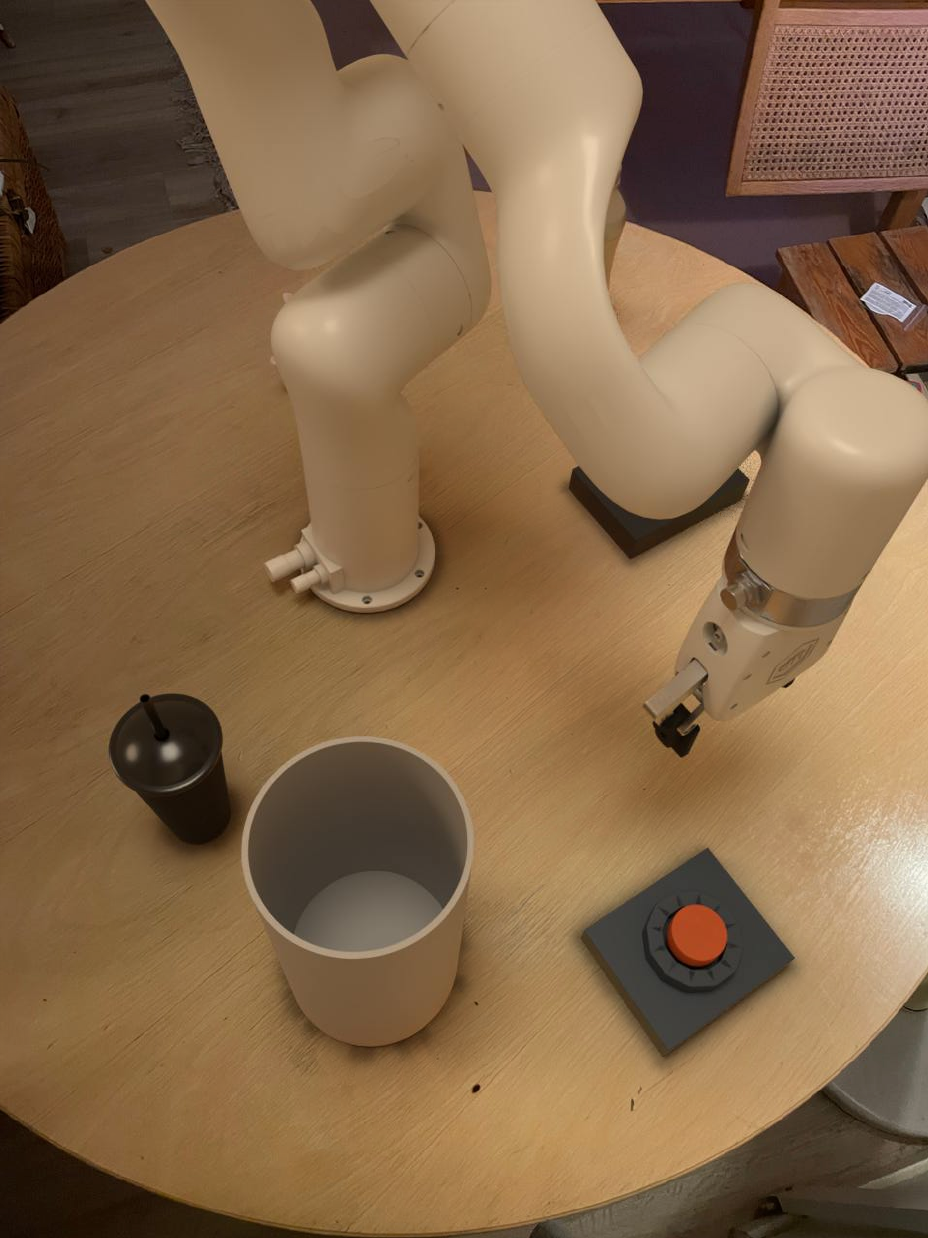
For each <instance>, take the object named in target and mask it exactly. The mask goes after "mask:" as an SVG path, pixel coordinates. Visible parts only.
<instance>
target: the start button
mask: <svg viewBox="0 0 928 1238" xmlns="http://www.w3.org/2000/svg"><path fill="white" fill-rule="evenodd" d="M667 942H668V946H669V948H670V950H671V952H672V953H673V954H674V956H675V957H676V958H677V959H678V960H680V961H681V962H683V963H684V964H687V965H689V966H694V967H701V966H706V965H708V964H710V963H712V962H713V961H714V960H715V959H716V958H717V957H718V956H719V955H720V954H721V953H722V951H723V950H724V948H725V946H726V943H727V930H726V927H725V924H724V922H723V920H722V919H721V917H720V916H719V915H718V914H717V913H716V912H715V911H713V910H712V909H710V908H708V907H706V906H702V905H689V906H686V907H684V908H682V909H681V910H679V911H678V912H677V913H676V915H675V916H674V918H673V919H672V920H671V922H670V923H669V926H668V929H667Z"/></svg>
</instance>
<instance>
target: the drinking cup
mask: <svg viewBox="0 0 928 1238" xmlns="http://www.w3.org/2000/svg"><path fill="white" fill-rule="evenodd" d="M223 744H224V734H223V728H222V726H221V722H220V720H219V718H218V716H217V714H216V713H215V712H214V711H213V709H212V708H211V707H210V706H209V705H208V704H207V703H205V702H203V701H202V700H200V699H199V698H196V697H194V696H190V695H188V694H184V693H177V692H176V693H174V692H172V693H161V694H157V695H153V696H150V695H149V694H147V693H144V694H141V695H140V696H139V702H137V703H136V704H135V705H133V706H132V707H130V708H129V709H128V710H126V712H125V713H124V714H123V715H122V716H121V718H119V720H118V721H117V723H116V724H115V726H114V728H113V731H112V732H111V735H110V739H109V743H108V759H109V763H110V767H111V768H112V771H113V773H114V774H115V776H116V778H117V779H118V780H119V782H121V783H122V785H124V786H125V787H127V788H129V789H130V790H132V791H133V792H135V793H136V794H137V795H138V796H139V797H140V799H141V800H142V801H143V802H144V803H145V804H146V805H147V806H148V807H149V808H150V809H151V810H152V812H153V813H154V814H155V815H156V816H157V817H158V818H159V819H160V820H161V822H162V823H163V824H164V825H165V826H166V827H167V829H169V830H170V832H171V833H172V834H173V835H174V836H175V837H176V838H177V839H178V840H180V841H181V842H183V843H185V844H189V845H204V844H208V843H210V842H212V841H214V840H216V839H217V838H218V837H220V836H222V834H223V833H224V832H225V830H226V829H227V827H228V825H229V823H230V820H231V815H232V810H231V804H230V797H229V789H228V784H227V778H226V777H227V776H226V772H225V765H224V758H223Z"/></svg>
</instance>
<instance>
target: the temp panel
mask: <svg viewBox="0 0 928 1238" xmlns="http://www.w3.org/2000/svg"><path fill="white" fill-rule="evenodd" d="M750 481H751V479H750V478H749V477H748V476H747V475H746V474H745V473H744V472H743V471H742V470H741V469H740V467H738V469H737V470H736V471H735V472H734V473H733V474H732V475H731V476H730V477H729V478H728V479H727V480H726V482H725V483H724V484H723V485H722V486H721V487H720V488H719V489H718V490H717V491H716V492H715V493H714V494H713V495H712V496H711V497H709V498H708V499H707V500H706V501H705V502H704V503H703V504H701V505H700V506H699V507H697V508H696V509H694V510H693V511H690V512H688V513H686V514H684V515H681V516H679V517H675V518H670V519H651V518H645V517H641V516H639V515H636V514H634V513H631V512H629V511H627V510H625V509H624V508H622V507H621V506H619V505H618V504H616V503H614V502H613V501H612V500H611V499H610V498H608V497H607V496H606V495H605V494H604V493H603V492H602V491H600V490H599V489H598V488H597V486H596V485H595V484H594V483H593V482H592V481H591V480H590V479H589V478H588V476H587V475H586V474H585V473H584V472H583V470H582V469H581V468H580V467H579V465H577V466H575V467H573V468H572V470H571V474H570V480H569V485H568V490H569V491H570V492H571V493H572V494H573V496H575V498H576V499H577V500H578V501H579V502H580V503H581V505H582V506H583V507H584V508H585V509H586V511H587V512H588V513H589V514H590V515H591V516H592V517H593V518H594V519H595V521H596V522H597V523H598V524H599V525H600V526H601V527H602V528H603V530H604V531H605V532H606V533H607V535H609V537H610V538H611V539H613V541H614V542H615V543H616V545H618V547H619V549H621V550H622V552H624V554H625V555H626V556H627V557H628V558H629V559H630V560H631V559H633V558H635V557H637V556H639V555H641V554H643V553H644V552H646V551H648V550H650V549H652V548H654V547H656V546H658V545H659V544H661V543H664V542H665V541H667V540H669V539H671V538H672V537H674V536H676V535H678V534H680V533H682V532H683V531H685V530H687V529H690V528H691V527H693V526H694V525H697V524H698V523H700V522H702V521H704V520H706V519H708V518H710V517H712V516H713V515H715V514H718V513H719V512H720V511H722V510H725V509H726V508H728V507H730V506H733V505H734V504H736V503H738V502H740V501H741V500H742V499H743V498H744V495H745V493H746V490H747V488H748V486H749V483H750Z"/></svg>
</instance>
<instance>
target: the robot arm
mask: <svg viewBox="0 0 928 1238" xmlns="http://www.w3.org/2000/svg"><path fill="white" fill-rule="evenodd" d="M144 1H145V2H146V4H147V6H148V7H149V9H150V10H151V12H152V13H153V15H154V17H155V18H156V19H157V21H158V22H159V24H160V25H161V27H162V29H163V30H164V33H165V34H166V35H167V37H168V39H169V40H170V43H171V45H172V46H173V48H174V50H175V52H176V53H177V55H178V57H179V60H180V62H181V64H182V67H183V69H184V70H185V73H186V75H187V77H188V79H189V82H190V86H191V88H192V91H193V93H194V96H195V99H196V102H197V105H198V107H199V109H200V113H201V115H202V117H203V120H204V122H205V125H206V127H207V130H208V132H209V136H210V138H211V140H212V143H213V146H214V148H215V150H216V153H217V156H218V158H219V161H220V163H221V165H222V169H223V171H224V173H225V176H226V178H227V181H228V184H229V186H230V189H231V192H232V194H233V197H234V199H235V202H236V204H237V206H238V209H239V211H240V213H241V216H242V219H243V221H244V223H245V225H246V227H247V229H248V231H249V233H250V235H251V237H252V239H253V241H254V242H255V244H256V246H258V248H259V250H260V251H261V252H262V254H263V255H264V256H265V257H267V258H268V260H269V261H271V262H272V263H273V264H275V265H276V266H278V267H281V268H283V269H286V270H288V271H308V270H310V269H315V268H318V267H322V266H324V265H326V264H328V263H330V262H332V261H333V260H336V259H337V258H339V257H342V255H344V254H346V253H347V252H349V251H350V250H352V249H353V248H356V246H358V245H360V244H361V243H362V242H364V241H366V240H367V239H368V238H370V237H371V236H373V235H374V234H376V233H377V232H379V231H380V230H381V231H380V232H379V233H378V234H377V235H375V236H374V237H372V238H371V239H370V240H368V241H366V242H365V243H364V244H362V245H360V246H359V247H358V248H356V249H355V250H354V251H352V252H349V253H348V254H346V255H345V256H343V257H342V258H340V259H339V260H337V261H336V262H334V263H333V264H332V265H330V266H329V267H328V268H326V269H325V270H323V271H322V272H320V273H319V274H318V275H316V276H314V277H313V278H312V279H311V280H309V281H308V282H307V283H305V284H304V285H303V286H301V287H300V288H299V289H298V290H297V291H295V293H293V294H294V295H293V296H292V297H291V298H290V299H289V300H288V301H287V302H286V303H285V302H284V305H283V306H282V307H281V308H280V310H279V311H278V312H277V314H276V316H275V318H274V320H273V323H272V326H271V329H270V349H271V353H272V355H273V357H274V360H275V362H276V365H275V366H276V368H277V371H278V372H279V375H280V378H281V380H282V383H283V385H284V387H285V390H286V392H287V395H288V398H289V400H290V404H291V407H292V410H293V415H294V419H295V424H296V431H297V436H298V442H299V448H300V450H299V451H300V454H301V462H302V469H303V476H304V482H305V489H306V491H305V492H306V495H307V496H306V497H307V503H308V511H309V519H310V522H309V524H308V525H307V526H306V527H304V528H302V529H301V538H300V540H299V543H297V544H294V545H293V550H291V551H288V552H286V553H284V554H279V555H278V556H275V557H274V558H271V559H269V560H267V561H265V562H263V567H264V570H265V572H266V575H267V576H268V578H269V580H270V581H271V582H272V583H275V582H278V581H280V580H282V579H284V578H286V577H288V576H290V575H292V574H293V573H294V572H296V571H298V570H300V572H301V574H300V575H298V576H296V577H294V578H291V579H290V580H289V582H290V585H291V588H292V589H293V591H294V592H295V594H297V595H298V594H300V593H303V592H304V591H306V590H309V589H310V590H311V591H312V592H313V593H314V594H315V595H316V596H317V597H318V598H319V599H320V600H321V601H323V602H325V603H327V604H329V605H330V606H332V607H335V608H338V609H340V610H343V611H348V612H353V613H359V614H360V613H361V614H362V613H366V614H368V613H369V614H371V613H378V612H384V611H385V612H386V611H388V610H391V609H395V608H397V607H399V606H401V605H403V604H406V603H407V602H409V601H410V600H412V599H413V598H414V597H416V596H417V595H418V594H419V593H420V592H421V591H422V590H423V589H424V587H426V585H427V583H428V582H429V580H430V579H431V576H432V574H433V571H434V568H435V563H436V543H435V540H434V537H433V534H432V531H431V530H430V528H429V526H428V524H427V523H426V522H425V520H423V518H422V517H421V516H420V515H419V514H420V513H419V512H420V511H419V509H420V508H419V504H420V503H419V494H420V493H419V492H420V491H419V490H420V489H419V488H420V487H419V486H420V485H419V484H420V483H419V482H420V481H419V480H420V479H419V477H420V475H419V474H420V471H419V470H420V468H419V467H420V431H419V430H420V429H419V422H418V417H417V414H416V412H415V410H414V407H413V406H412V404H411V403H410V401H409V400H408V399H407V398H406V397H405V395H403V394H402V391H403V390H404V389H405V387H406V386H407V385H408V384H409V383H410V382H411V381H412V380H413V379H414V378H415V377H416V376H418V375H419V374H420V373H421V372H423V371H424V370H425V369H426V368H428V367H429V365H430V364H432V363H433V362H434V361H435V360H436V359H438V358H439V357H441V355H443V354H445V353H446V352H447V351H448V350H449V349H450V348H451V347H453V346H454V345H455V344H456V343H458V342H459V341H460V340H461V339H462V338H464V337H465V336H466V335H467V334H469V333H470V332H471V331H472V330H473V329H474V328H475V327H476V326H477V325H478V324H479V323H480V322H481V320H482V319H483V318H484V317H485V314H486V312H487V311H488V308H489V305H490V302H491V298H492V297H491V296H492V274H491V267H490V266H491V265H490V261H489V256H488V251H487V246H486V242H485V238H484V233H483V229H482V225H481V220H480V215H479V210H478V207H477V203H476V197H475V193H474V189H473V188H474V187H473V183H472V179H471V175H470V171H469V166H468V161H467V157H466V152H467V154H469V156H470V157H471V159H472V161H473V162H474V163H475V165H476V166H477V168H478V170H479V172H480V173H481V174H482V176H483V178H484V179H485V181H486V183H487V185H488V187H489V188H490V191H491V193H492V196H493V199H494V203H495V209H496V271H497V282H498V283H497V284H498V288H499V296H500V303H501V308H502V309H501V310H502V314H503V319H504V326H505V330H506V335H507V340H508V344H509V347H510V351H511V353H512V358H513V360H514V364H515V366H516V369H517V371H518V374H519V376H520V379H521V381H522V383H523V385H524V386H525V388H526V390H527V391H528V394H529V396H530V398H531V399H532V400H533V402H534V403H535V405H536V407H537V408H538V410H539V411H540V412H541V414H542V415H543V417H544V418H545V420H546V422H547V423H548V424H549V426H550V427H551V429H552V430H553V432H554V433H555V434H556V436H557V438H558V439H559V440H560V441H561V443H562V444H563V447H565V448H566V450H567V452H568V454H570V456H571V457H572V459H573V460H574V462H575V463H576V465H577V466H579V467H580V468H581V469H582V470H583V472H584V473H585V474H586V475H587V476H588V478H589V479H590V480H591V481H592V482H593V483H594V484H595V485H596V486H597V488H598V489H599V490H600V491H602V492H603V493H604V494H605V495H606V496H607V497H608V498H610V499H611V500H612V501H613V502H614V503H616V504H618V505H619V506H621V507H622V508H624V509H625V510H627V511H629V512H631V513H634V514H636V515H639V516H641V517H645V518H651V519H670V518H675V517H679V516H681V515H684V514H686V513H688V512H690V511H693V510H694V509H696V508H697V507H699V506H700V505H701V504H703V503H704V502H705V501H706V500H707V499H708V498H709V497H711V496H712V495H713V494H714V493H715V492H716V491H717V490H718V489H719V488H720V487H721V486H722V485H723V484H724V483H725V482H726V480H727V479H728V478H729V477H730V476H731V475H732V474H733V473H734V472H735V471H736V470H737V469H738V468H740V466H741V465H742V464H743V463H744V462H745V461H746V460H747V459H748V458H749V457H750V456H751V455H752V454H753V453H754V452H756V453H757V454H758V455H759V458H760V466H759V469H758V471H757V473H756V476H755V478H754V481H753V483H752V486H751V488H750V491H749V493H748V495H747V498H746V500H745V503H744V505H743V508H742V510H741V512H740V515H739V517H738V520H737V523H736V525H735V528H734V530H733V533H732V536H731V537H730V540H729V543H728V545H727V547H726V550H725V553H724V554H723V557H722V563H721V575H722V576H721V577H720V578H719V579H718V580H717V582H716V583H715V585H714V586H713V588H712V589H711V591H710V592H709V594H708V595H707V597H706V598H705V600H704V602H703V604H702V606H701V607H700V609H699V610H698V613H697V614H696V616H695V617H694V619H693V621H692V623H691V625H690V627H689V629H688V631H687V633H686V635H685V637H684V639H683V641H682V644H681V647H680V648H679V651H678V654H677V657H676V660H675V664H674V676H673V677H672V678H671V679H670V680H669V681H668V682H666V683H665V684H664V685H663V686H662V687H661V688H660V689H658V690H657V691H656V692H655V693H654V694H653V695H651V696H650V697H649V698H648V699H647V700H646V701H645V702H644V703H643V704H642V705H641V707H642V709H643V710H644V712H646V713H647V714H648V716H649V717H650V718H651V719H652V726H653V728H654V733H655V737H656V738H657V739H658V741H659V742H660V743H661V744H662V745H663V746H664V747H666V748H667V749H670V748H671V749H672V750H673V751H674V753H675V754H676V755H677V756H678V757H679V758H681V759H682V758H685V757H686V756H687V755H689V754H690V752H691V749H692V748H693V746H694V743H695V741H696V739H697V738H698V734H699V733H700V731H701V727H700V725H699V723H701V722H702V720H704V718H705V717H707V715H708V716H709V717H710V718H711V719H712V720H714V722H720V723H723V722H724V723H725V722H729V721H732V720H733V719H735V718H737V717H739V716H740V715H742V714H743V713H745V712H747V711H748V710H749V709H751V708H753V707H754V706H756V705H757V704H759V703H761V702H762V701H763V700H765V699H767V698H768V697H769V696H771V695H773V694H774V693H775V692H777V691H778V690H780V689H781V688H782V689H783V688H784V689H787V688H788V687H791V686H792V684H793V683H794V682H795V680H796V678H797V677H799V676H800V675H802V674H804V672H806V671H807V670H809V669H810V668H811V667H813V666H814V665H815V664H816V663H818V662H819V661H820V660H821V659H822V658H823V657H824V656H825V655H826V653H827V652H828V650H829V648H830V647H831V646H832V643H833V641H834V640H835V638H836V636H837V634H838V633H839V630H840V628H841V627H842V625H843V622H844V621H845V619H846V617H847V614H848V613H849V610H850V608H851V606H852V604H853V602H854V599H855V597H856V595H857V594H858V592H859V591H860V589H861V588H862V586H863V584H864V582H865V581H866V579H867V577H868V576H869V574H870V573H871V571H872V570H873V568H874V566H875V564H876V563H877V561H878V560H879V558H880V557H881V555H882V553H883V552H884V550H885V549H886V547H887V545H888V544H889V543H890V541H891V539H892V537H893V536H894V534H895V533H896V532H897V529H898V528H899V527H900V525H901V523H902V521H903V519H904V518H905V517H906V515H907V513H908V512H909V510H910V508H911V507H912V505H913V503H914V502H915V500H916V499H917V497H918V496H919V494H920V492H921V491H922V489H923V487H924V486H925V484H926V483H927V481H928V398H927V397H926V396H925V395H924V394H923V393H922V392H921V391H919V389H917V388H916V387H915V386H914V385H912V384H911V383H909V382H907V381H905V380H904V379H902V378H900V377H898V376H896V375H894V374H893V373H889V372H886V371H883V370H881V369H876V368H873V367H868V366H865V365H864V364H863V363H862V362H861V361H859V360H858V359H857V358H856V357H855V356H854V355H852V354H851V353H849V351H847V350H846V349H845V348H844V347H842V346H841V345H840V344H839V343H838V342H837V341H836V340H835V339H834V338H832V336H830V334H829V333H827V332H826V331H825V330H824V329H823V328H821V326H820V325H818V323H816V322H815V321H814V320H813V319H811V317H809V316H808V315H807V314H806V313H805V312H804V311H803V310H801V308H799V307H798V306H797V305H795V304H794V303H793V302H792V301H790V300H789V299H788V298H786V297H785V296H784V295H781V294H780V293H778V292H777V291H775V290H773V289H770V288H768V287H765V286H763V285H760V284H756V283H753V282H737V283H732V284H728V285H725V286H722V287H720V288H718V289H716V290H714V292H712V293H710V294H709V295H708V296H706V297H704V298H703V299H702V300H701V301H700V302H699V303H698V304H697V305H696V306H695V307H693V308H692V309H691V310H690V311H688V313H687V314H686V315H685V316H683V317H682V318H681V319H680V320H679V321H678V322H677V323H676V324H674V326H672V327H671V329H669V330H668V331H667V332H666V333H664V334H663V335H662V336H661V337H660V338H659V339H658V340H657V341H655V342H654V343H653V344H652V345H651V346H650V347H649V348H648V349H647V350H645V351H644V352H643V353H642V354H641V355H640V356H639V357H637V355H636V353H635V351H634V350H633V348H632V346H631V344H630V343H629V341H628V339H627V337H626V335H625V333H624V332H623V329H622V327H621V325H620V322H619V320H618V318H617V315H616V312H615V309H614V307H613V304H612V300H611V296H610V290H609V291H608V287H607V283H606V275H605V265H604V233H605V225H606V217H607V211H608V207H609V202H610V198H611V194H612V190H613V187H614V184H615V181H616V178H617V175H618V171H619V168H620V165H622V162H623V159H624V155H625V152H626V151H627V147H628V144H629V141H630V139H631V137H632V135H633V134H632V133H633V131H634V128H635V125H636V123H637V121H638V118H639V115H640V111H641V107H642V103H643V93H644V89H643V84H642V83H643V82H642V79H641V76H640V73H639V72H638V69H637V68H636V66H635V65H634V63H633V61H632V59H631V57H630V56H629V55H628V53H627V52H626V50H625V48H624V47H623V45H622V44H621V41H620V40H619V38H618V37H617V35H616V32H615V31H614V30H613V28H612V26H611V24H610V22H609V21H608V19H607V18H606V16H605V14H604V13H603V11H602V9H601V8H600V6H599V4H598V2H597V1H596V0H369V2H370V3H371V4H372V6H373V8H374V10H375V11H376V13H377V14H378V15H379V18H380V19H381V20H382V22H383V23H384V25H385V26H386V28H387V29H388V31H389V33H390V34H391V35H392V37H393V39H394V40H395V42H396V44H397V45H398V47H399V48H400V50H401V51H402V52H403V54H404V56H405V57H406V58H403V57H401V56H398V55H394V54H387V53H380V54H379V53H378V54H373V55H368V56H366V57H363V58H360V59H358V60H355V61H353V62H352V63H350V64H347V65H345V66H344V67H342V68H340V69H339V70H337V68H336V65H335V62H334V60H333V56H332V51H331V48H330V44H329V41H328V36H327V33H326V30H325V28H324V25H323V24H324V23H323V21H322V19H321V16H320V14H319V12H318V10H317V9H316V7H315V5H314V4H313V2H312V0H144ZM464 148H465V149H464ZM465 150H466V152H465ZM692 695H693V696H694V698H696V700H697V701H698V702H699V704H698V705H697V706H696V707H695V708H694V709H693V710H692V711H690V710H688V708H687V707H686V706H685V705H684V704H683V702H684V701H685V700H687V699H688V698H689V697H690V696H692Z"/></svg>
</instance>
